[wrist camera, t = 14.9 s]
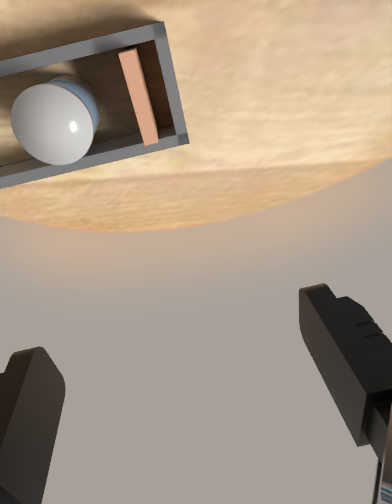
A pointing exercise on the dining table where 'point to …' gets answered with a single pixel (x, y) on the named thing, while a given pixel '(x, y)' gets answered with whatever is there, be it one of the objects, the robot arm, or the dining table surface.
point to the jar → (57, 119)
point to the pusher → (139, 95)
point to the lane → (111, 148)
